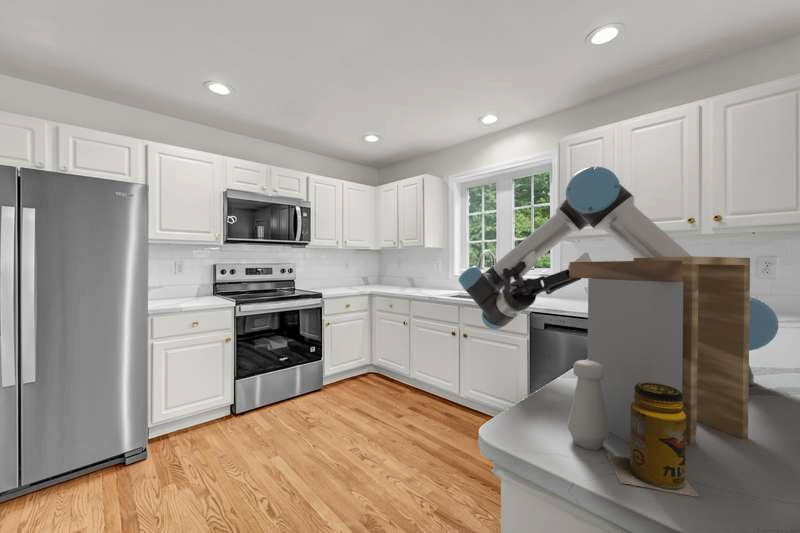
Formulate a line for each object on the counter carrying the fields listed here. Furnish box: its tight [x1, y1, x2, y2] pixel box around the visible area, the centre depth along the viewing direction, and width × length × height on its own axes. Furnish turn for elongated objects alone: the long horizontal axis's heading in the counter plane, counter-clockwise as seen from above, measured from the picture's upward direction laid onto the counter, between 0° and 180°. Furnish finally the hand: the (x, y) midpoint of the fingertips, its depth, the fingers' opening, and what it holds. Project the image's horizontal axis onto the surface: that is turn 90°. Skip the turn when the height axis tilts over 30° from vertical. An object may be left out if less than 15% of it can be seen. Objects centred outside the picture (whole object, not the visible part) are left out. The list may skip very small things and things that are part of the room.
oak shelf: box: [632, 255, 751, 446], centre depth 63 cm, size 12×11×30 cm
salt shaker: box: [567, 359, 610, 451], centre depth 57 cm, size 6×6×13 cm
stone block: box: [586, 278, 683, 443], centre depth 61 cm, size 6×13×26 cm, turn 12°
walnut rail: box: [569, 260, 682, 282], centre depth 64 cm, size 3×21×3 cm, turn 12°
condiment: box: [606, 383, 700, 497], centre depth 48 cm, size 7×8×12 cm
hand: (562, 257), depth 78 cm, fingers open, 13 cm apart
